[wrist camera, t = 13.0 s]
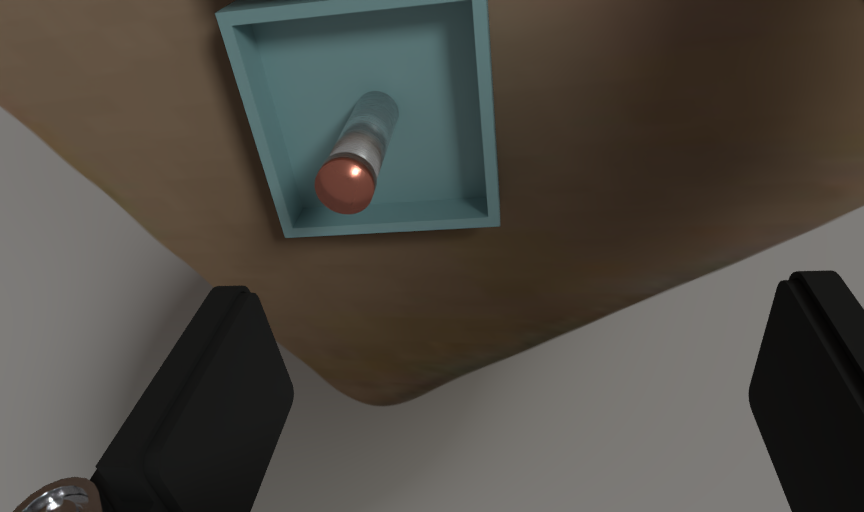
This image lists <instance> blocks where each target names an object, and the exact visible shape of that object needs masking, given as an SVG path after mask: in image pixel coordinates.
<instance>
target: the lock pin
mask: <svg viewBox="0 0 864 512" xmlns="http://www.w3.org/2000/svg"><path fill="white" fill-rule="evenodd" d="M398 117H399V110H398V107H397V104H396V102H395V101H394V100H393V98H392V97H390V96H389V95H388V94H386V93H383V92H380V91H371V92H367V93H365V94H364V95H362V96H361V97H360V99H359V100H358V102H357V104H356V106H355V108H354V109H353V111H352V113H351V115H350V117H349V119H348V121H347V123H346V125H345V126H344V128H343V130H342V132H341V134H340V136H339V138H338V140H337V142H336V144H335V145H334V147H333V149H332V151H331V153H330V155H329V157H328V158H327V159H326V160H325V161H324V163H323V164H322V166H321V168H320V170H319V172H318V173H317V176H316V178H315V191H316V194H317V196H318V198H319V200H320V201H321V202H322V203H323V204H324V205H325V206H326V207H327V208H329V209H330V210H332V211H334V212H337V213H340V214H355V213H358V212H361V211H363V210H364V209H365V208H366V207H367V206H368V205H369V204H370V202H371V200H372V198H373V195H374V192H375V189H376V185H377V178H378V175H379V172H380V169H381V166H382V163H383V160H384V158H385V155H386V152H387V149H388V146H389V143H390V140H391V138H392V135H393V132H394V129H395V126H396V123H397V120H398Z"/></svg>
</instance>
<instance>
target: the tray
mask: <svg viewBox="0 0 864 512" xmlns="http://www.w3.org/2000/svg"><path fill="white" fill-rule="evenodd" d="M215 15H216V18H217V21H218V25H219V28H220V31H221V34H222V37H223V41H224V44H225V47H226V50H227V53H228V57H229V60H230V63H231V66H232V69H233V73H234V76H235V79H236V82H237V85H238V89H239V92H240V95H241V98H242V101H243V105H244V108H245V111H246V114H247V117H248V121H249V124H250V127H251V130H252V133H253V137H254V140H255V143H256V146H257V149H258V153H259V156H260V159H261V162H262V166H263V169H264V172H265V175H266V178H267V182H268V185H269V188H270V191H271V194H272V198H273V201H274V204H275V207H276V210H277V214H278V217H279V220H280V223H281V226H282V230H283V233H284V236H285V238H295V237H313V236H332V235H350V234H369V233H387V232H406V231H424V230H443V229H461V228H479V227H498V226H500V194H499V178H498V161H497V145H496V129H495V112H494V96H493V80H492V63H491V47H490V31H489V14H488V0H235V1H234V2H232V3H231V4H229V5H227V6H226V7H224V8H222V9H221V10H219V11H218V12H216V13H215ZM371 91H380V92H383V93H386V94H388V95H389V96H390V97H392V98H393V100H394V101H395V102H396V104H397V107H398V110H399V117H398V120H397V123H396V126H395V129H394V132H393V135H392V138H391V140H390V143H389V146H388V149H387V152H386V155H385V158H384V160H383V163H382V166H381V169H380V172H379V175H378V178H377V185H376V189H375V192H374V195H373V198H372V200H371V202H370V204H369V205H368V206H367V207H366V208H365V209H364V210H363V211H361V212H358V213H355V214H340V213H337V212H334V211H332V210H330V209H329V208H327V207H326V206H325V205H324V204H323V203H322V202H321V201H320V200H319V198H318V196H317V194H316V191H315V178H316V176H317V173H318V172H319V170H320V168H321V166H322V164H323V163H324V161H325V160H326V159H327V158H328V157H329V155H330V153H331V151H332V149H333V147H334V145H335V144H336V142H337V140H338V138H339V136H340V134H341V132H342V130H343V128H344V126H345V125H346V123H347V121H348V119H349V117H350V115H351V113H352V111H353V109H354V108H355V106H356V104H357V102H358V100H359V99H360V97H361V96H362V95H364V94H365V93H367V92H371Z"/></svg>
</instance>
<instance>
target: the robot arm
mask: <svg viewBox="0 0 864 512" xmlns="http://www.w3.org/2000/svg"><path fill="white" fill-rule="evenodd" d="M293 397H294V391H293V385H292V382H291V380H290V377H289V374H288V372H287V369H286V367H285V364H284V362H283V359H282V356H281V354H280V351H279V349H278V346H277V343H276V341H275V338H274V336H273V333H272V331H271V328H270V325H269V323H268V320H267V318H266V315H265V313H264V310H263V307H262V305H261V302H260V300H259V297H258V296H257V295H256V294H255V293H251V292H250V291H249V289H248V288H247V287H246V286H217V287H214V288H213V289H212V290H211V291H210V293H209V294H208V296H207V297H206V299H205V300H204V302H203V303H202V305H201V307H200V308H199V309H198V311H197V313H196V314H195V316H194V317H193V319H192V320H191V322H190V323H189V325H188V326H187V328H186V330H185V331H184V332H183V334H182V335H181V337H180V338H179V340H178V341H177V343H176V345H175V346H174V348H173V349H172V351H171V352H170V354H169V355H168V357H167V358H166V360H165V361H164V363H163V364H162V366H161V367H160V369H159V371H158V372H157V373H156V375H155V377H154V378H153V380H152V381H151V383H150V384H149V386H148V387H147V389H146V390H145V392H144V393H143V395H142V396H141V398H140V400H139V401H138V402H137V404H136V405H135V407H134V409H133V410H132V412H131V413H130V415H129V416H128V418H127V419H126V421H125V422H124V424H123V425H122V427H121V429H120V430H119V431H118V433H117V435H116V436H115V438H114V439H113V441H112V442H111V444H110V445H109V447H108V448H107V450H106V451H105V453H104V454H103V456H102V458H101V459H100V460H99V462H98V464H97V465H96V468H97V470H96V471H95V473H94V474H93V476H92V477H91V479H90V480H88V479H86V478H79V477H71V478H65V479H60V480H58V481H55V482H53V483H50V484H48V485H46V486H44V487H42V488H41V489H39V490H38V491H36V492H34V493H33V494H31V495H30V496H29V497H28V498H26V500H24V501H23V502H22V503H21V504H20V505H19V506H17V508H16V509H15V510H14V511H13V512H250V511H251V509H252V506H253V503H254V501H255V498H256V496H257V493H258V491H259V488H260V486H261V483H262V480H263V478H264V475H265V472H266V470H267V467H268V465H269V462H270V460H271V457H272V455H273V452H274V449H275V447H276V444H277V442H278V439H279V436H280V434H281V431H282V429H283V426H284V424H285V421H286V419H287V416H288V413H289V411H290V408H291V405H292V402H293ZM749 402H750V407H751V410H752V413H753V415H754V417H755V420H756V422H757V425H758V427H759V430H760V432H761V435H762V438H763V440H764V443H765V445H766V447H767V450H768V453H769V455H770V458H771V460H772V463H773V465H774V468H775V470H776V473H777V475H778V478H779V480H780V483H781V485H782V488H783V491H784V493H785V496H786V498H787V501H788V503H789V506H790V508H791V511H792V512H864V309H863V308H862V306H861V305H860V304H859V302H858V301H857V300H856V298H855V297H854V295H853V294H852V292H851V291H850V290H849V288H848V287H847V285H846V284H845V283H844V281H843V280H842V278H841V277H840V276H839V275H838V274H837V273H836V272H834V271H798V272H793V273H792V274H791V276H790V278H789V280H783V281H780V283H779V284H778V287H777V289H776V293H775V297H774V300H773V304H772V308H771V311H770V315H769V319H768V322H767V325H766V329H765V333H764V336H763V340H762V343H761V347H760V351H759V354H758V358H757V362H756V365H755V369H754V372H753V376H752V380H751V383H750V387H749Z"/></svg>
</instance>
